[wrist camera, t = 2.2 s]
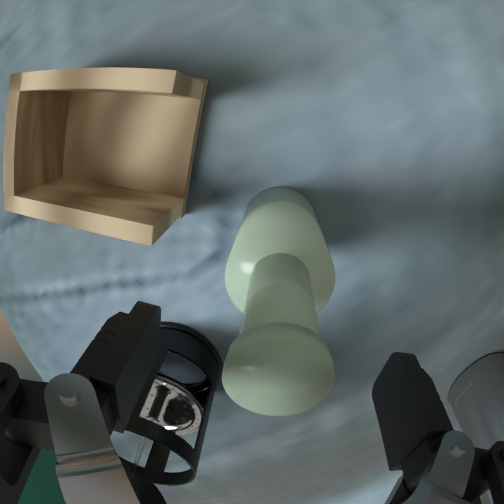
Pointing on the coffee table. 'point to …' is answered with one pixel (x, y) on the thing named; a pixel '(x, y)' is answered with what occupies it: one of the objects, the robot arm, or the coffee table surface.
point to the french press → (172, 413)
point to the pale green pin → (279, 307)
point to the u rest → (102, 148)
